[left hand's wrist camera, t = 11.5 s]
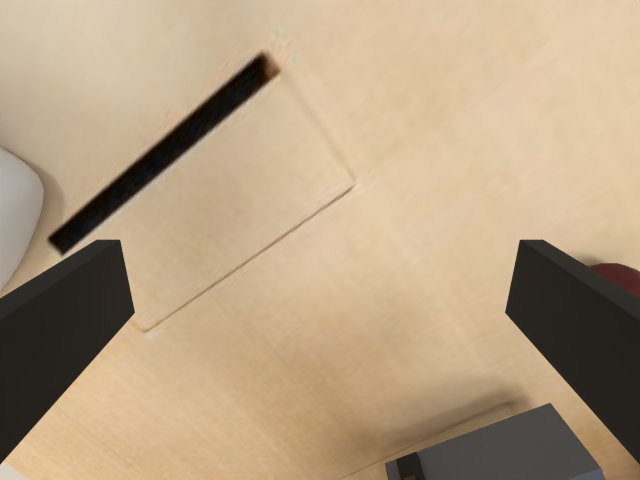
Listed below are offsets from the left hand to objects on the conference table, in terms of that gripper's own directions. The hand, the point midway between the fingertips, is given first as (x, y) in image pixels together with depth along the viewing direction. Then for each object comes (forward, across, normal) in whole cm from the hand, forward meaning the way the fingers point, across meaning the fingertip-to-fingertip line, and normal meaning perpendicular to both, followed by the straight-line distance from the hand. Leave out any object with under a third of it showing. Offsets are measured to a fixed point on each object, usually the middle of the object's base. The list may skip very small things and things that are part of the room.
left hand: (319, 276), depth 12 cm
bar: (+23, +19, -35) cm, 46 cm away
